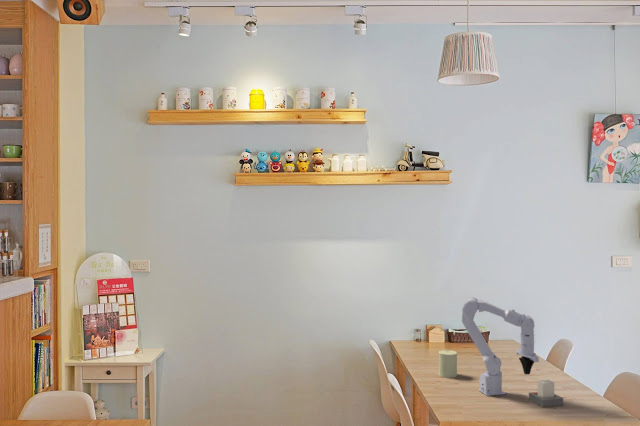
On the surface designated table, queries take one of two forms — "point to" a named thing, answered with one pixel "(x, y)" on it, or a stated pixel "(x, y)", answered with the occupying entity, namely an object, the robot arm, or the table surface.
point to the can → (447, 363)
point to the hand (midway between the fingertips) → (527, 373)
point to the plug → (545, 388)
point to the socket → (545, 400)
